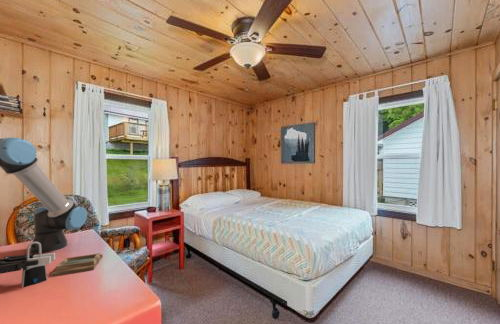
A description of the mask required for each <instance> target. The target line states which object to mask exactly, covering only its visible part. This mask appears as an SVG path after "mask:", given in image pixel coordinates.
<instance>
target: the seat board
mask: <svg viewBox="0 0 500 324" xmlns="http://www.w3.org/2000/svg"><path fill="white" fill-rule="evenodd" d="M102 258H103V253H102V254H101V253H100V252H99V253H93V254H85V255H79V256H71V257H65V258H63V260H62V261H61V262H60V263H58V265H56V266H55V270H54V271H52V272H51V278H52V277H53V278H54V277H57V276H62V275H63V276H64V275H65V276H66V275H71V274H76V273H82V272H87V271H88V272H89V271H93V270H95V268H96V267H97V265H98V264H99V263H100V261H101V260H102Z"/></svg>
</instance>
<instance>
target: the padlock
mask: <svg viewBox="0 0 500 324" xmlns="http://www.w3.org/2000/svg"><path fill="white" fill-rule="evenodd" d="M32 244H38V246H39V253H38V255H39V257H42V254H43V252H42V253H41V244H40V243H39V242H33V241H32V242H30V243H28V244H27V247H26V255H27V260H28V259H29V254H30V247H31V245H32ZM21 274H22V275H21V283H20V284H21V287H22V288H26V287H30V286H34V285H37V284H39V283H40V284H41V283H43V282H45V281H48V275H47V267H46V265H39V266H32V267H27V269H26V270H23V269H22V272H21Z"/></svg>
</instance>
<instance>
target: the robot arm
mask: <svg viewBox="0 0 500 324" xmlns="http://www.w3.org/2000/svg"><path fill="white" fill-rule="evenodd" d="M38 162H39V159H38V158H37V149H36V147H35V146H34V144H33V143H32V142H30V141H29V140H27V139H25V138H21V137H14V136H13V137H5V138H4V137H3V138H0V168H1V169H2V170H3V171H4V173H6V174H7V175H13V176H15V177H16V178H17V180H18V181H20V183H21V184H22V185H23V186H24V187H25V188H26V189H27V190H28V191H29V192H30V193H31V194H32V195H33V196H34V197H35V198H36V200H38V201H39V203H41V205H43V206H41V207H40V206H39V207H37V208H35V209H34V212H33V217H34V221H33V222H34V237H33V239H32V242H39V243H40V244H41V253H42V257H39V246H38V244H32V245H31V246H30V248H29V259H28V260H27V254H20V255H7V256H4V257H3V258H0V274H1V275H2V274H6V273H8V274H9V273H13V272H19V271H21V270H22V271H23V270H26V269H27V267H32V266H39V265H45V266H46V265H50V264H51V262H52V261H55V260H56V253H55V252H53V251H56V250H60V249H63V248H65V247H66V246H68V240H67V237H66V235H65V233H64V230H66V231H67V230H69V231H72V230H73V231H74V230H78V229H80V228H82V226H84V224H85V223H86V222H87V217H88V212H87V210H86V208H84V207H82V206H77V205H76V203H75V202H74V201H73V200H72V199H67V198H66V197H65V196H64V194H62V192H61V191H60V189H58V188H57V187H56V185H55V184H54V182H52V180H51V179H50V178H49V177H48V176H47V175H46V174H45V172H44V171H43V170H42V168H41V167H39V166H38ZM47 252H49V253H47ZM30 253H31V254H30Z"/></svg>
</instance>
